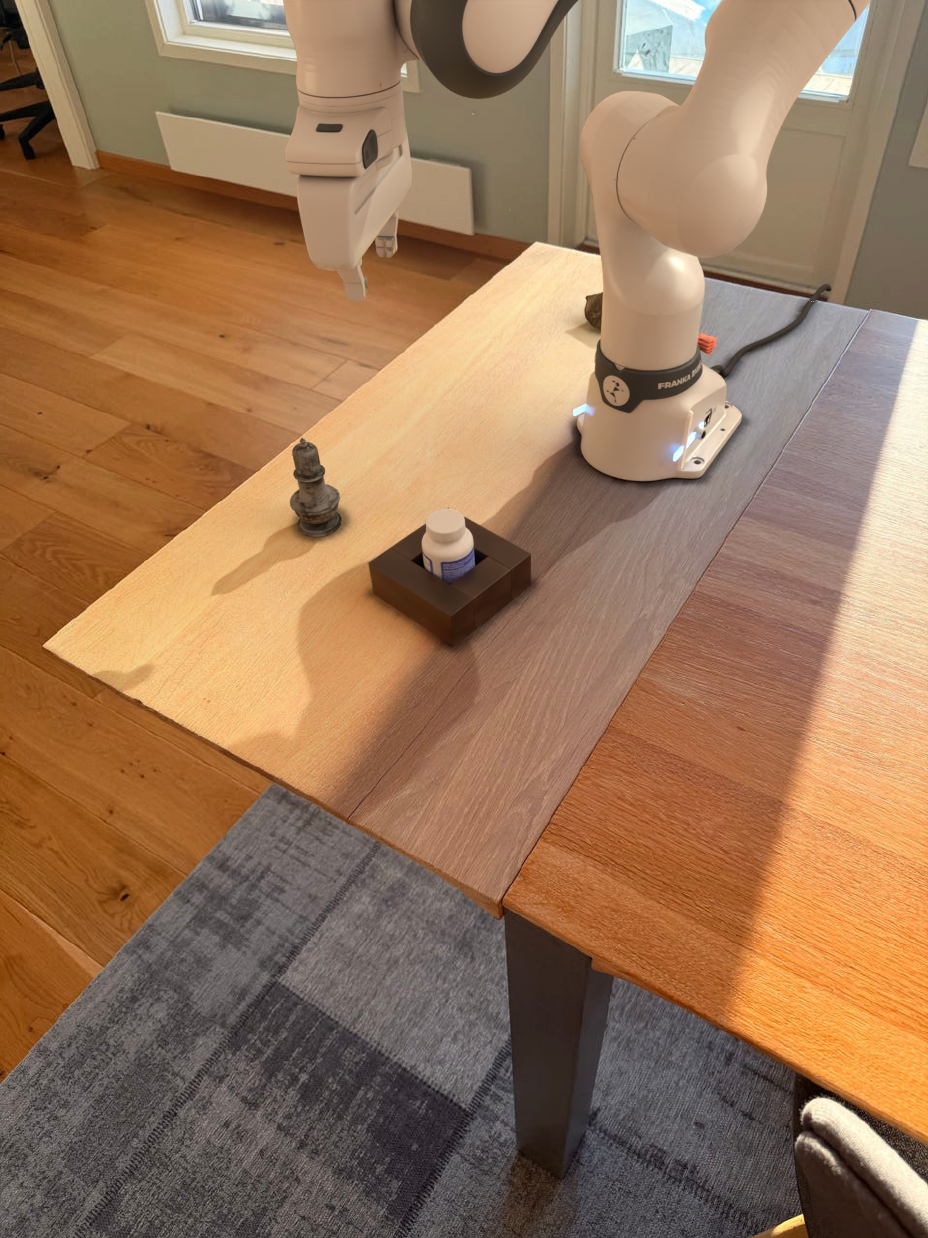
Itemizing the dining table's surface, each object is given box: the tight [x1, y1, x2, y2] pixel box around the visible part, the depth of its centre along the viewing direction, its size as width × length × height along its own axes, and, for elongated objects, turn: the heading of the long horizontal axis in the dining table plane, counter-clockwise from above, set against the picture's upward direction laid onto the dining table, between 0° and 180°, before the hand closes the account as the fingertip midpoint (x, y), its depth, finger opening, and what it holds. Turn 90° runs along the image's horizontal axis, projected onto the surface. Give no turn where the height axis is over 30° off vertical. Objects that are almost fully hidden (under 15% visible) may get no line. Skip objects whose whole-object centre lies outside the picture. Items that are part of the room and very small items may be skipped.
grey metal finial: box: [289, 437, 343, 538], centre depth 104 cm, size 6×6×12 cm
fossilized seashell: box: [583, 291, 603, 330], centre depth 136 cm, size 8×7×10 cm
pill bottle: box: [422, 507, 475, 585], centre depth 95 cm, size 5×5×10 cm
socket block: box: [367, 516, 532, 648], centre depth 97 cm, size 12×12×4 cm
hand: (373, 275), depth 88 cm, fingers open, 8 cm apart
